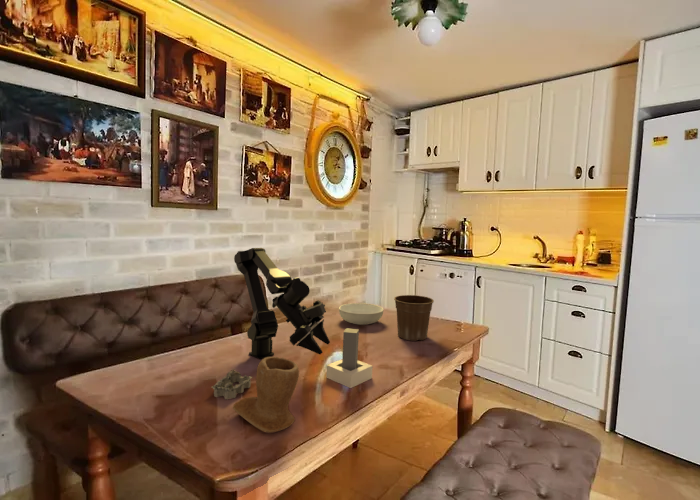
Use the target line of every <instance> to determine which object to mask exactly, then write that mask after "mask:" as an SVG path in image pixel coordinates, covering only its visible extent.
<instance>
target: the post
mask: <svg viewBox="0 0 700 500" xmlns="http://www.w3.org/2000/svg"><path fill="white" fill-rule="evenodd" d="M342 335H343V337H342V338H343V339H342V368H344V369H347V370H349V371H352V370H354V369H357V361H359V359H358V358H359V357H358V355H359V336H360V329H359V328H348V327H347V328H345V329H344V331H343V334H342Z"/></svg>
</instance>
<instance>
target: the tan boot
mask: <svg viewBox="0 0 700 500" xmlns="http://www.w3.org/2000/svg"><path fill="white" fill-rule="evenodd" d="M299 374H300V369H299V366H298V364H297V363H296V362H294V361H293V360H291V359H287V358H284V357H278V356H267V357H264V358H261V361H259V363H258V365H257V368H256V378H255V386H256V393H257V394H256V395H257V396H249V397H244V398H242V399H240V400H238V401H237V402H235V403H234V404H233V405H232V409H233V411H235V413H236V414H238V415H239V416H240V417H241V418H243V419H244V420H246V421H247V422H248V423H249V424H250V425H252V426H253V427H255V428H256V429H258V430H259V431H261V432H264V433H276V432H280V431H282V430H286V429H288V428H289V427H290V426H292V424H293V423H295V417H294V415H293V414H292V412H290V410H289V403H290V401H291V399H292V396H293V394H294V393H295V390H296V387H297V385H298V381H299V376H300V375H299Z"/></svg>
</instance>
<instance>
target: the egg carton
mask: <svg viewBox="0 0 700 500" xmlns="http://www.w3.org/2000/svg"><path fill="white" fill-rule="evenodd" d="M251 379H253V376H250V375H249V376H248V375H246V374H244V375H243V376H242V373H240V372H239V371H236V370H235V369H232V370H230V371H229V372H227V373H226V375H225V376H223V377H222V379H220V380H218V381H217V382H216V383H215V384H214V385H212V386H211V388H212V389H213V396H214V397H215V398H218V397H224V400H230V399H236V398H237V394H242V393H244V391H245V390H244V389H249V388H251V386H252V385H251V382H252V381H251ZM234 383H236V384H235V385H234ZM237 383H238V384H237Z"/></svg>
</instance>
